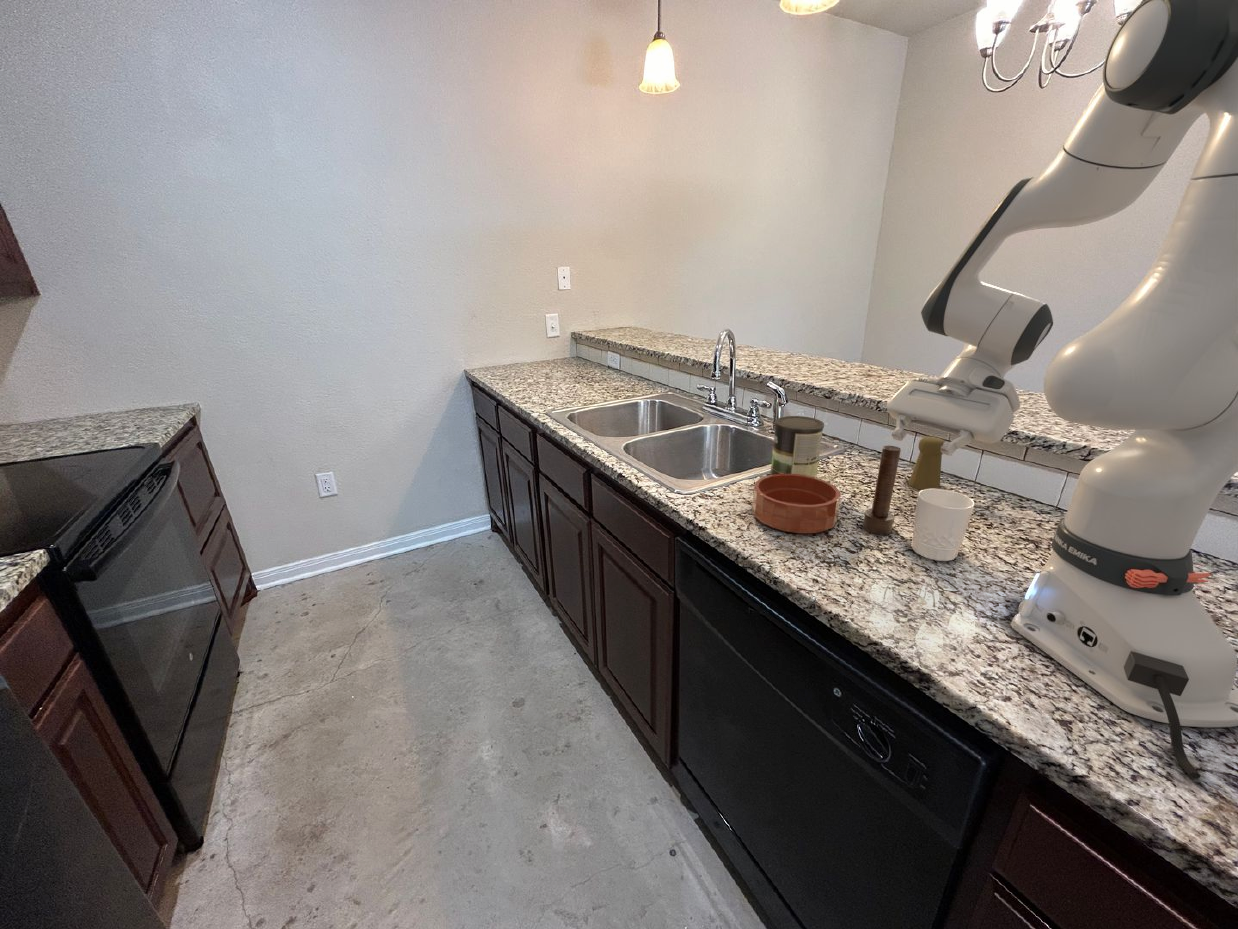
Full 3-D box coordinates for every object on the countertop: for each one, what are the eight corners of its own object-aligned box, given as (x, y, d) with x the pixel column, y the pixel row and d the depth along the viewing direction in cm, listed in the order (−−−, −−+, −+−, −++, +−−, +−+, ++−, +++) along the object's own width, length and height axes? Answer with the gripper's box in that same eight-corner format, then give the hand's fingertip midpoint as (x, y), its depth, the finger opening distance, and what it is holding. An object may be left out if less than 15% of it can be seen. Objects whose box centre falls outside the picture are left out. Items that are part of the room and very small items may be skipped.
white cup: (950, 569, 80) (964, 513, 76) (899, 550, 86) (910, 497, 82) (967, 552, 85) (982, 498, 81) (918, 535, 90) (929, 484, 87)
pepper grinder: (931, 480, 113) (941, 434, 109) (945, 491, 108) (956, 442, 104) (903, 479, 114) (912, 433, 110) (915, 490, 108) (925, 442, 104)
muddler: (896, 535, 91) (912, 452, 85) (869, 535, 91) (884, 452, 85) (884, 522, 95) (899, 443, 89) (858, 522, 95) (871, 443, 89)
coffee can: (765, 485, 113) (771, 425, 107) (773, 469, 121) (779, 413, 116) (813, 492, 108) (821, 431, 103) (818, 476, 117) (826, 418, 112)
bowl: (849, 536, 91) (853, 506, 88) (762, 536, 91) (765, 506, 89) (820, 499, 105) (823, 473, 103) (745, 499, 106) (747, 473, 104)
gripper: (906, 366, 98) (864, 421, 97) (1023, 385, 81) (971, 452, 80) (917, 386, 101) (876, 439, 101) (1031, 408, 84) (981, 472, 84)
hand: (919, 445), depth 90 cm, fingers open, 8 cm apart
